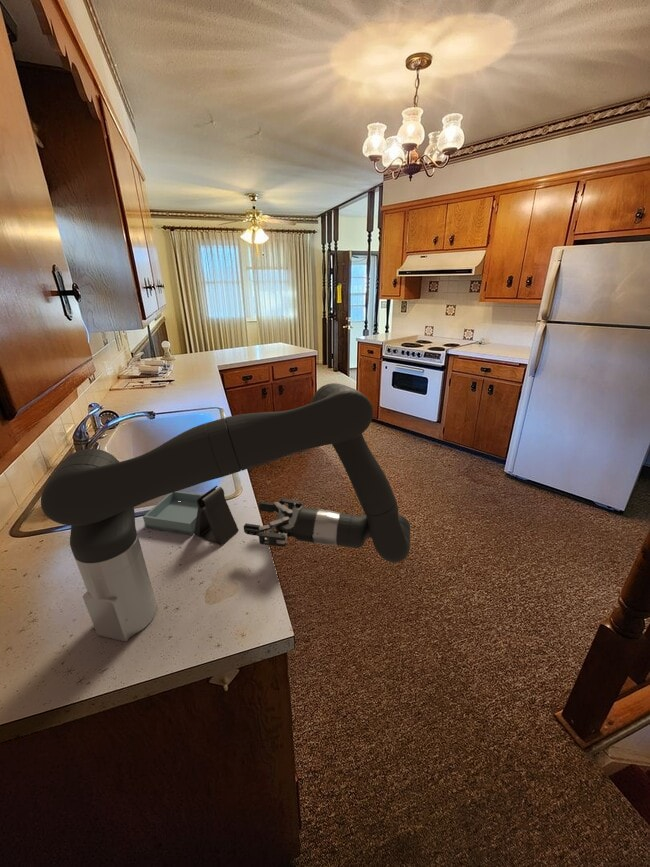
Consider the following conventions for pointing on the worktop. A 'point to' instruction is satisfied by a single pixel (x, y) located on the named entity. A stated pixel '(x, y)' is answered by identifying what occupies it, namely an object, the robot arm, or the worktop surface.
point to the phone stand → (214, 517)
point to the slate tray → (174, 513)
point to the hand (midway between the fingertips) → (252, 516)
